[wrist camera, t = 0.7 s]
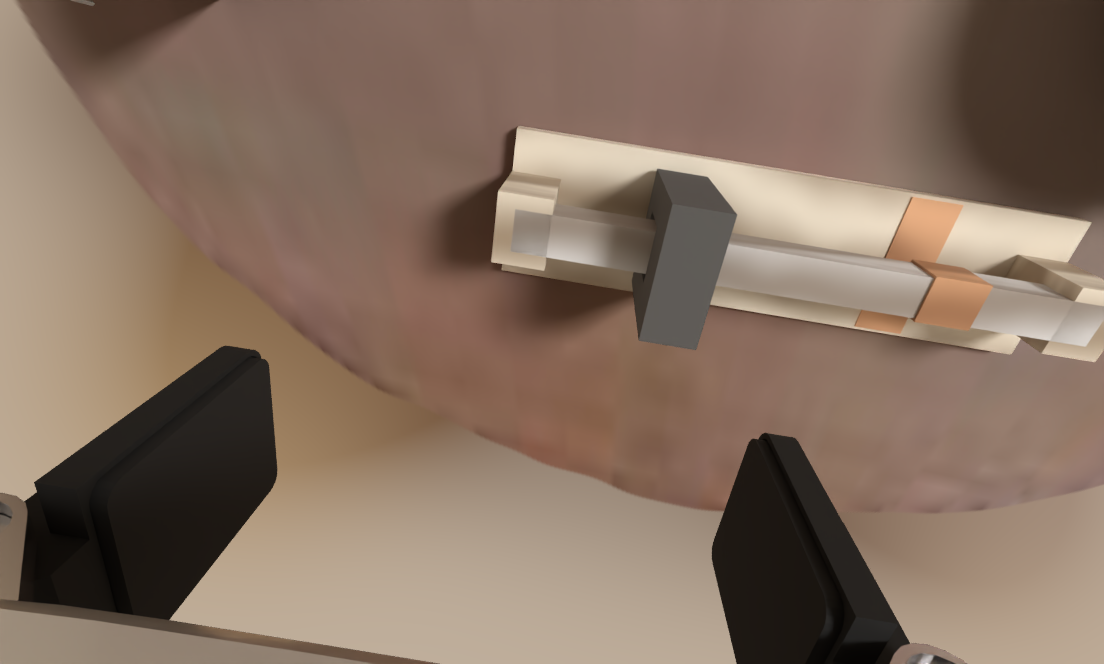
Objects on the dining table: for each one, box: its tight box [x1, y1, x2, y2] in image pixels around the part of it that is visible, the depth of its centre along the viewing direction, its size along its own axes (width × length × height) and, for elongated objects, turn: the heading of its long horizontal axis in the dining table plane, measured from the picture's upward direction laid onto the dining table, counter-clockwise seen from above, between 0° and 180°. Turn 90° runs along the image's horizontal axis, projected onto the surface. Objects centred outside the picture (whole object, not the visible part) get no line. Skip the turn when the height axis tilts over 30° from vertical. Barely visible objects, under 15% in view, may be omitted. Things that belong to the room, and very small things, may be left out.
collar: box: [632, 169, 737, 350], centre depth 31 cm, size 7×3×8 cm, turn 172°
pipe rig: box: [491, 126, 1104, 362], centre depth 33 cm, size 9×34×6 cm, turn 82°
